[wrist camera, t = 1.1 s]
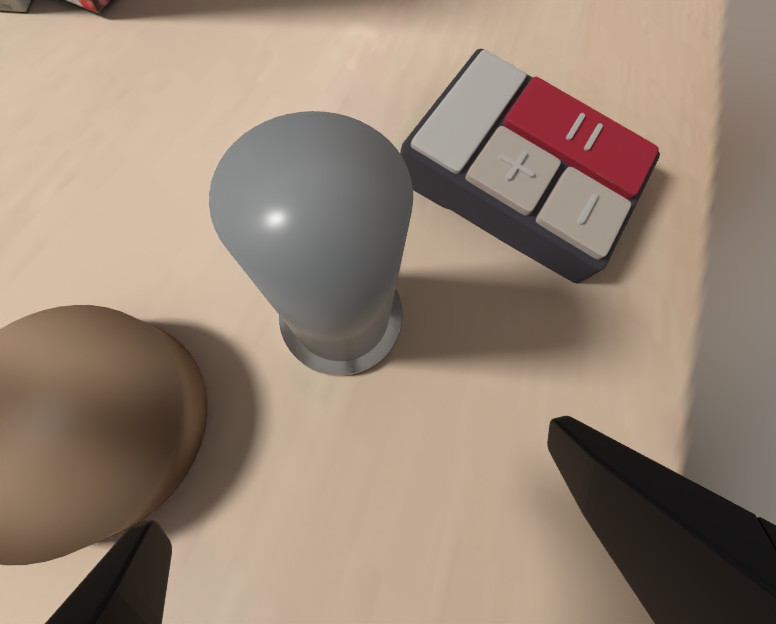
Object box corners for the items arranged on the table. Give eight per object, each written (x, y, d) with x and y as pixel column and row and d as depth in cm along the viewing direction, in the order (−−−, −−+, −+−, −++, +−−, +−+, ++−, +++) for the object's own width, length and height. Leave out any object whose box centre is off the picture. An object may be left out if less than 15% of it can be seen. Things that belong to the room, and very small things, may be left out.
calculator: (612, 267, 22) (400, 138, 23) (570, 290, 26) (392, 180, 27) (672, 143, 25) (482, 34, 26) (626, 182, 29) (464, 87, 30)
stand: (160, 565, 19) (122, 591, 16) (-67, 518, 19) (-145, 534, 16) (234, 342, 22) (215, 329, 20) (44, 302, 22) (-4, 284, 20)
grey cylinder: (388, 387, 22) (416, 338, 10) (266, 362, 22) (137, 281, 10) (410, 274, 24) (455, 117, 12) (299, 251, 24) (229, 72, 12)
